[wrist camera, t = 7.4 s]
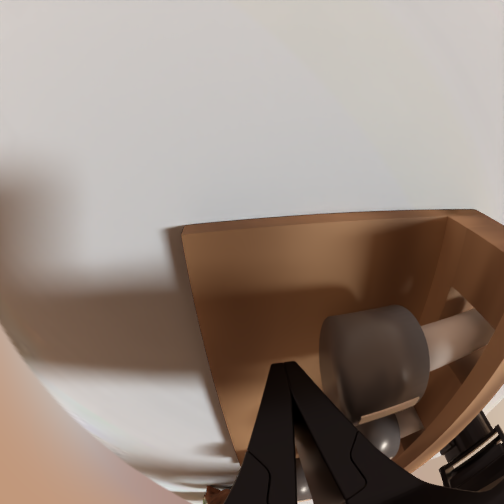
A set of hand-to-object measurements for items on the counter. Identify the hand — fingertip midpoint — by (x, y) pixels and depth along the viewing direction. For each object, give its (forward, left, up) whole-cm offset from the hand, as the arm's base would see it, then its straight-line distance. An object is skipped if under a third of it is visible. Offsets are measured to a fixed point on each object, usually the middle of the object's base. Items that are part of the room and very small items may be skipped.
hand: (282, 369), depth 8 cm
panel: (-4, +7, -3) cm, 8 cm away
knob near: (-6, 0, -1) cm, 6 cm away
